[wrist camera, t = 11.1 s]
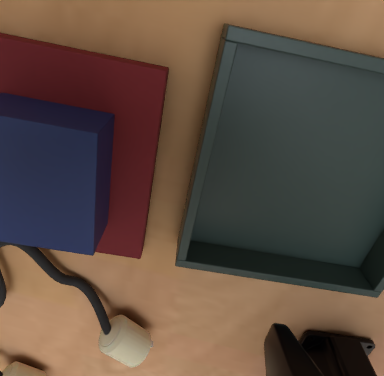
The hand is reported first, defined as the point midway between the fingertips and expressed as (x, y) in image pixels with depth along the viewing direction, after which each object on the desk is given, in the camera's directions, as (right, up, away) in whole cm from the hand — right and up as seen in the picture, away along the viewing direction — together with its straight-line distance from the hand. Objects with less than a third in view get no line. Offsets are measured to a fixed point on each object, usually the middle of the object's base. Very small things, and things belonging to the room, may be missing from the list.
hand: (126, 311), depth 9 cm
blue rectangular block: (-6, +5, +9) cm, 12 cm away
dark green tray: (+9, +5, +10) cm, 14 cm away
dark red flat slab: (-6, +6, +10) cm, 13 cm away
